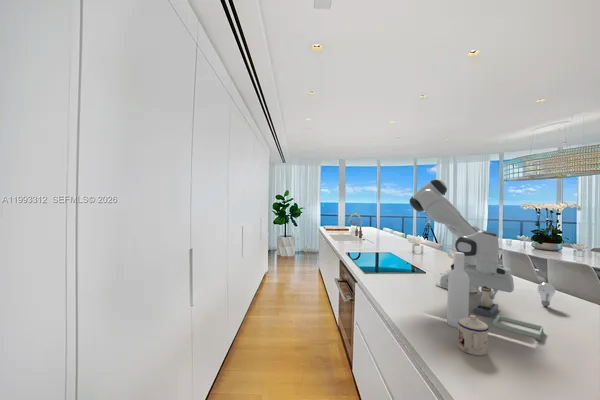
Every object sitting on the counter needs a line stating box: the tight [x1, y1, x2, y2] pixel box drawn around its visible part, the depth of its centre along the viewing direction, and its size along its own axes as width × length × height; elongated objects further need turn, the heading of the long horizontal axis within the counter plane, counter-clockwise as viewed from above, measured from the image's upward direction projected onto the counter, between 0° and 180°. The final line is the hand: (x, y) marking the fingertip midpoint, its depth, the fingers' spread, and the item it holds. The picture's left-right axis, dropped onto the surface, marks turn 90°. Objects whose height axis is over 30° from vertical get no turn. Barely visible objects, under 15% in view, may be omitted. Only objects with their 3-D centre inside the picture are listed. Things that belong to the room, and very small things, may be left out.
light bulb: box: [536, 282, 556, 308], centre depth 148 cm, size 7×7×12 cm
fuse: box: [490, 289, 494, 307], centre depth 139 cm, size 4×4×9 cm
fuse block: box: [470, 301, 502, 320], centre depth 136 cm, size 9×14×4 cm, turn 135°
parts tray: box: [492, 314, 544, 342], centre depth 119 cm, size 15×11×2 cm
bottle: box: [446, 251, 470, 329], centre depth 123 cm, size 8×8×30 cm
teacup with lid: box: [457, 314, 489, 356], centre depth 101 cm, size 12×9×12 cm
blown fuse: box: [480, 286, 492, 307], centre depth 134 cm, size 4×4×9 cm
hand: (485, 297), depth 134 cm, fingers closed on blown fuse, 4 cm apart
